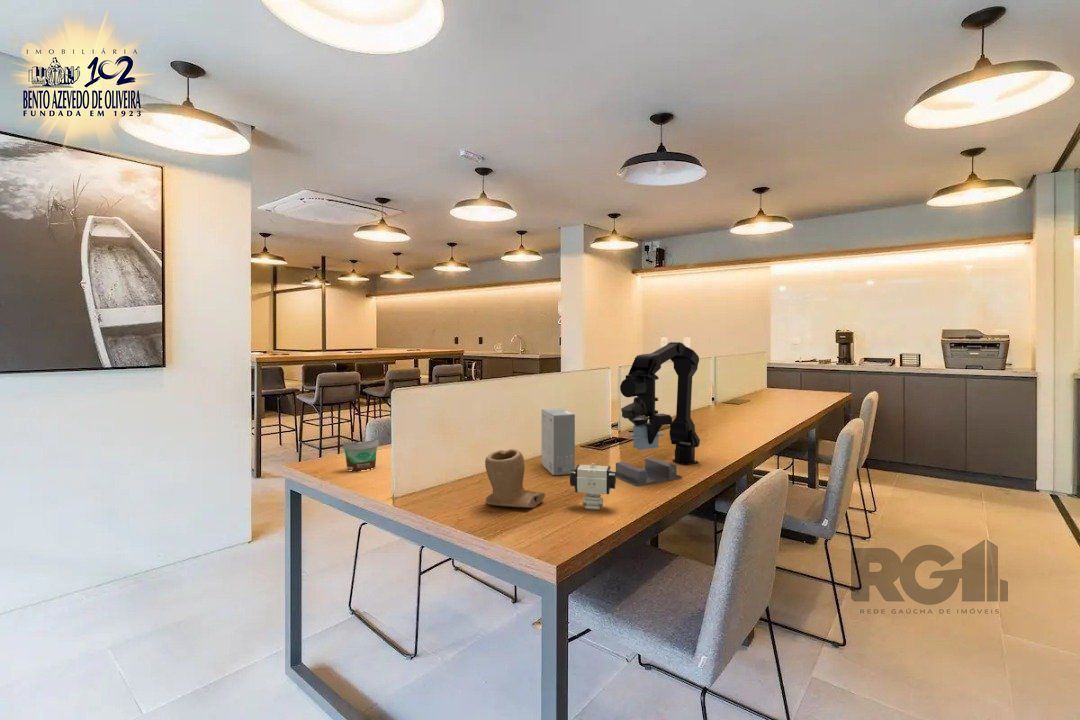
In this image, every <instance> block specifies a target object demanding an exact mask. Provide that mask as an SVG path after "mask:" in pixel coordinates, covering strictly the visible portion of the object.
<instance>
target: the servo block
mask: <svg viewBox="0 0 1080 720" xmlns="http://www.w3.org/2000/svg"><path fill="white" fill-rule="evenodd" d="M632 431H633V432H632V434H628V435H627V437H628V438H631V439H632V448H635V449H636V450H640V451H641V450H650V449H657V448H659V437H663V436H664V433H662V432H659V431H660V430H659V431H658V433H657V435H656V437H655V439H654V441H653V443H652V444H649V443H648V431H647V427H646V426H645V425H636V426H635V425H633V426H632Z"/></svg>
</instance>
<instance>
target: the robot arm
mask: <svg viewBox="0 0 1080 720" xmlns="http://www.w3.org/2000/svg"><path fill="white" fill-rule="evenodd" d="M668 361H671V362H672V363H673V369H674V371H675V373H676V375H677V388H676V390H677V391H676V409H675V410H676V411H675V412H676V414H675V415H676V416H675V418H673V417H672V416H671V414H668V413H667V414H666V413H659V410H656V402H658V401H659V397H656V381H657V380H659V376H658V375H656V374H657V372H659V370H660V369H661V368H662V364H664V363H666V362H668ZM699 363H700V357H699V355H698V353H696V352H695V350H694V349H692V348H690V347H687V345H685V344H684V343H683V342H680V341H678V342H677V341H674V342H673V341H671V342H670V341H669V342H668V343H667V344H665V345H664V346H662V347H661V348H658V349H657V350H655V351H653V352H651V353H642V354H638V355H636V356H635V357H634V360H633V362H632V363H631V366H630V369H629V372H628V374H627V375H625V379H623V380H622V381H621V383H620V385H619V391H620V393H621V394H622V396H624V397H625V398H633V402H632V403H628V404H627V405H624V406H623V407H621V408H620V409H621V410H620V411H621V417H622V418H623V419H627V420H628V421H629V422H631V423H632V424H633V426H636V425H645V426H646V427H647V431H648V443H649V444H652V443H653V441H654V439H655V437H656V435H657V433H658V431H660V429H661V428H662V426H664V425H665V426H666V425H669V431H668V432H669V438H670V443H671V445H675V449H674V459H672V462H675V463H677V464H681V465H692V464H697V463H699V461H697V460H695V458H696V454H695V453H696V448H698V447H699V446H700V441H701V440H700V439H701V438H700V437H699V435H698V434H697V433H696V425H695V423H694V422H693V420H692V418H691V413H692V394H693V393H692V391H693V376H694V375H695V373H696V372H697V370H698V365H699Z"/></svg>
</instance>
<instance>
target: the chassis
mask: <svg viewBox="0 0 1080 720" xmlns="http://www.w3.org/2000/svg"><path fill="white" fill-rule="evenodd" d="M615 472H616V479H619V480H621V481H623V482H625V483H628V484H629V485H632V486H635V487H641V486H648V485H652V484H658V483H659V484H660V483H665V482H670V480H671V481H676V480H675V479H677V480H681V479H680V478H682V479H683V476H681V475H679V474H677V465H675V464H672V463H670V462H667V461H663V460H662V459H658V458H656V457H653V456H652V457H651V456H650V457H646V458H644V467H638V466H637V465H633V464H630V463H628V462H626V461H618V462H615Z"/></svg>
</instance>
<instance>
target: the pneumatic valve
mask: <svg viewBox="0 0 1080 720" xmlns="http://www.w3.org/2000/svg"><path fill="white" fill-rule="evenodd" d="M616 481H617V478H616V471H612V469H611V465H598V464H597V465H596V463H595V462H594V463H593V462H591V464H577V465H576V466H575V470H571V472H570V474H569V485H570V487H573V489H575V491H574V492H575V493H580V494H581V493H582V494H583V493H584V494H585V493H586V496H585V495H584V496H582V506H585V509H586V510H591V511H593V510H594V511H599V510H600V509H601V508H603V507H604V497H602V495H610V492H611V489H612V490H615V489H616V485H617V483H616Z"/></svg>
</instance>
